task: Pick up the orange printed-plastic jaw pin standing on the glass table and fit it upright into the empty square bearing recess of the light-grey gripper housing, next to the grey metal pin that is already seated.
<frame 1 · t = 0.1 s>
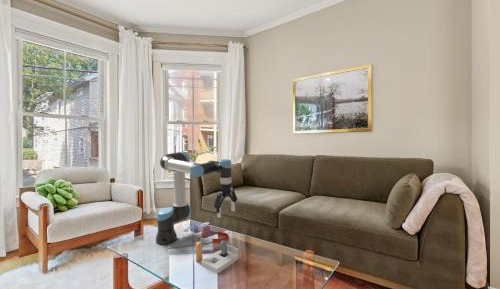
hand: (226, 214, 176), 28 cm above the table, fingers open, 13 cm apart
toy: (221, 246, 189), on the table
grey pin: (224, 258, 174), resting in housing
orange pin: (199, 260, 171), on the table
housing: (220, 262, 169), on the table
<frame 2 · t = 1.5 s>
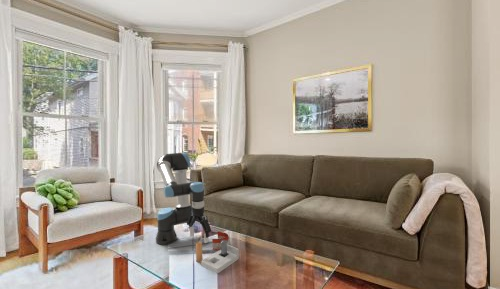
hand: (199, 238, 169), 15 cm above the table, fingers open, 13 cm apart
nothing on the table moved.
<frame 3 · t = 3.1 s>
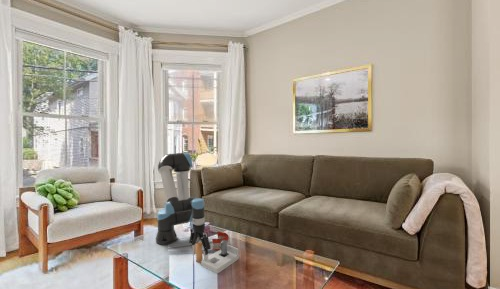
hand: (200, 256, 170), 3 cm above the table, fingers open, 10 cm apart
nothing on the table moved.
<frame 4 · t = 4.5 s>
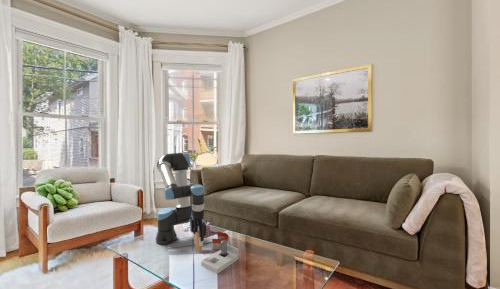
hand: (198, 244, 170), 11 cm above the table, fingers closed on orange pin, 4 cm apart
orange pin: (198, 249, 171), point 7 cm above the table, touching gripper
everything else where it was.
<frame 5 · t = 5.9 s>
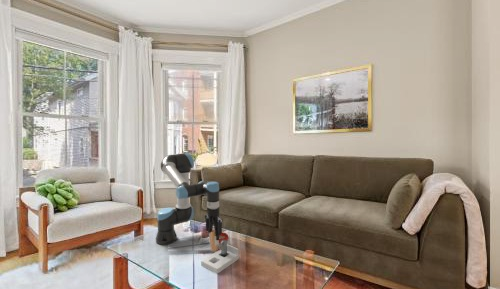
hand: (214, 243, 165), 14 cm above the table, fingers closed on orange pin, 4 cm apart
orange pin: (214, 249, 165), point 10 cm above the table, touching gripper
everything else where it was.
when the fingers open (4 cm above the table, at t = 7.5 s): orange pin stays where it is, resting in housing.
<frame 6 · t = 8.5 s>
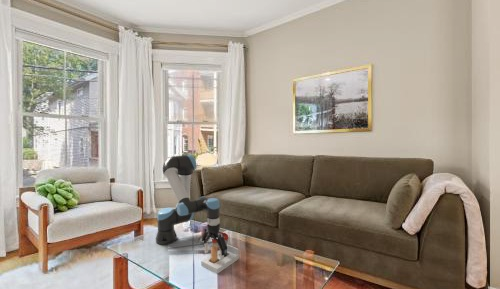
hand: (214, 256, 166), 6 cm above the table, fingers open, 13 cm apart
orange pin: (214, 264, 166), resting in housing
everything else where it was.
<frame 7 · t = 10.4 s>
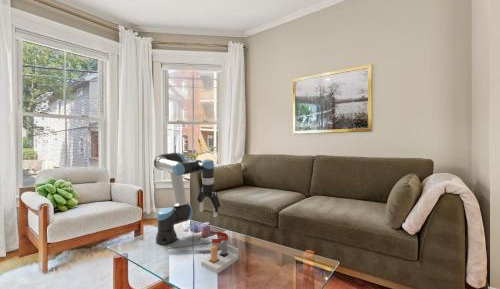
hand: (208, 214, 177), 28 cm above the table, fingers open, 13 cm apart
nothing on the table moved.
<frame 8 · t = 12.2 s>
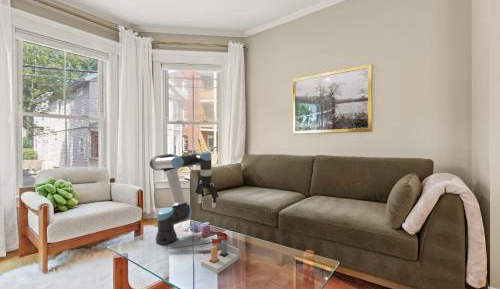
hand: (206, 205, 182), 32 cm above the table, fingers open, 13 cm apart
nothing on the table moved.
at the end: orange pin 0.1 cm from the target spot on the housing, point 0.0 cm above the housing's base; orange pin tilted 0°; grey pin moved 0.0 cm from its start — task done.
